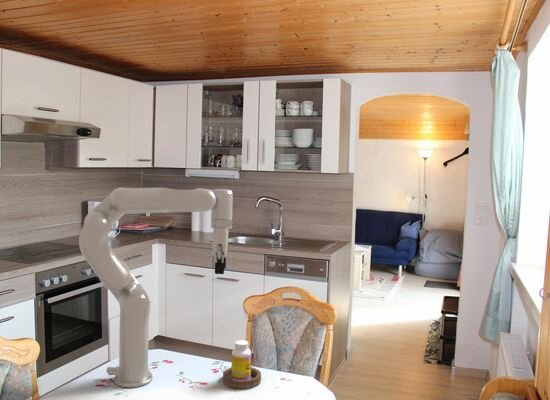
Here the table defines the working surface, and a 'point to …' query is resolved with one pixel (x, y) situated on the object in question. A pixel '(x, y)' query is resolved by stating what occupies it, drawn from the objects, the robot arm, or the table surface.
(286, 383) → the table surface
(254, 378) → the ring holder
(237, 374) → the supplement bottle
